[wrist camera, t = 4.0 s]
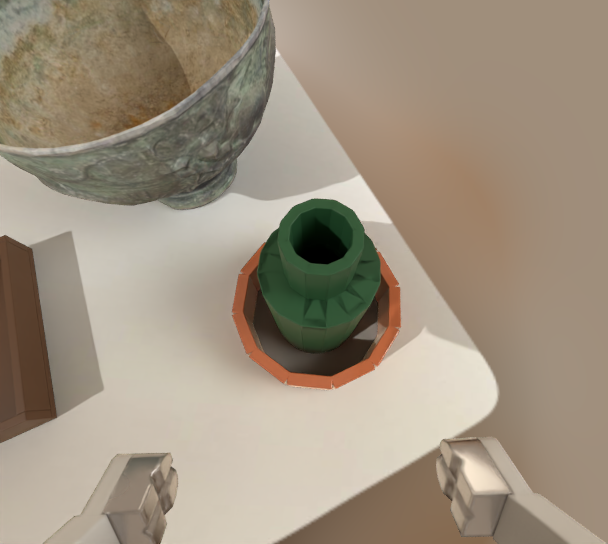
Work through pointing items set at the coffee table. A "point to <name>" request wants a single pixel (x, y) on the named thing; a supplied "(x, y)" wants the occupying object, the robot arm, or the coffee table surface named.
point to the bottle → (318, 274)
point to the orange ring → (385, 336)
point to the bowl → (133, 94)
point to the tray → (22, 345)
